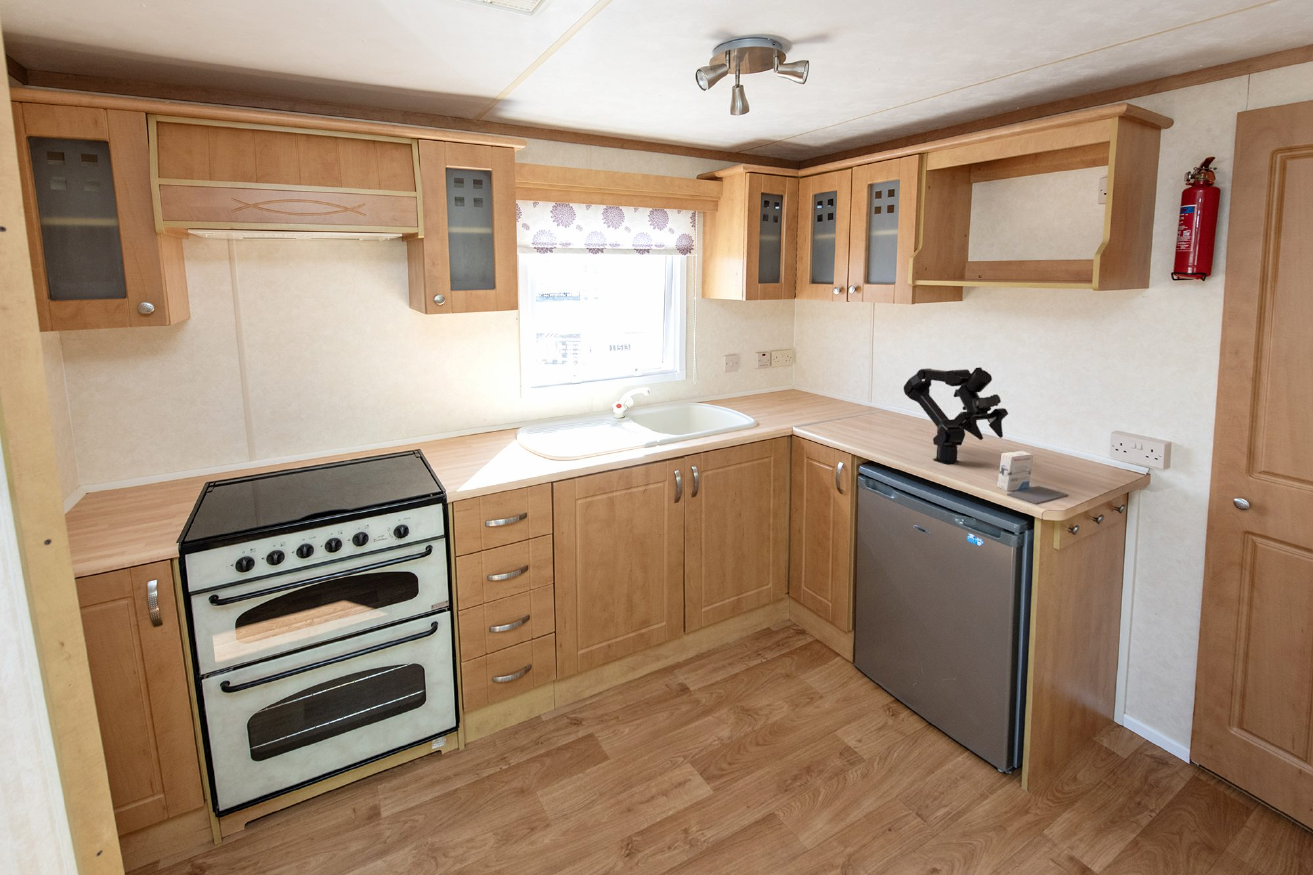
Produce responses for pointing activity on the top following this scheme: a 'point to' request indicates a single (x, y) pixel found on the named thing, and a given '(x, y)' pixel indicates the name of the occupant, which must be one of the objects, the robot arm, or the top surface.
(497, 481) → the top surface
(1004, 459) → the ink box
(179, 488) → the top surface
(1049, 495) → the mat
